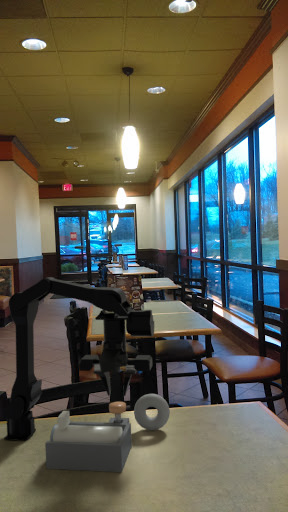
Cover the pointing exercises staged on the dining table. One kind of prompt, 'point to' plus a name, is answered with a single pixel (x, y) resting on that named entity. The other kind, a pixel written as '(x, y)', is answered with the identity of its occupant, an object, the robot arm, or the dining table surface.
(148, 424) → the donut
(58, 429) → the cartridge
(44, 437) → the dining table surface
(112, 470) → the housing
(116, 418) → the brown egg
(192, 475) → the dining table surface
